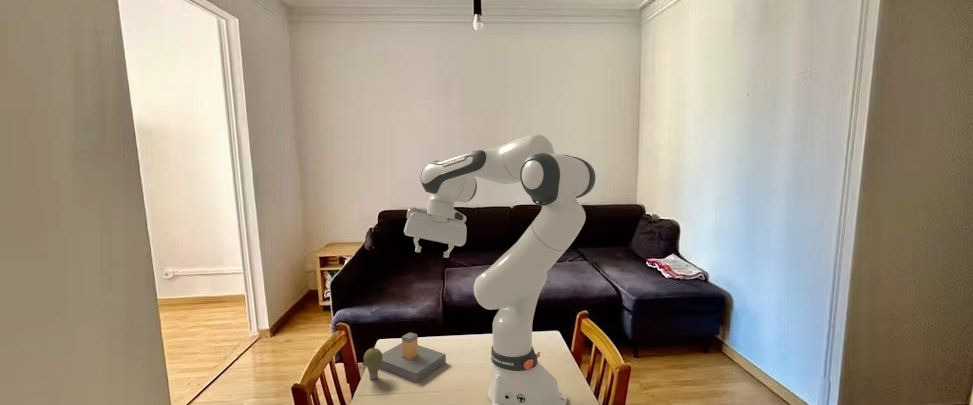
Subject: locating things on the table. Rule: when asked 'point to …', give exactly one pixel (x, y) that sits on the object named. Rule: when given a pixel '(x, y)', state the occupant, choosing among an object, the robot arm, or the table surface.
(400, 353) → the grey block with hole
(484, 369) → the table surface
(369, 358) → the light bulb
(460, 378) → the table surface
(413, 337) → the plug
